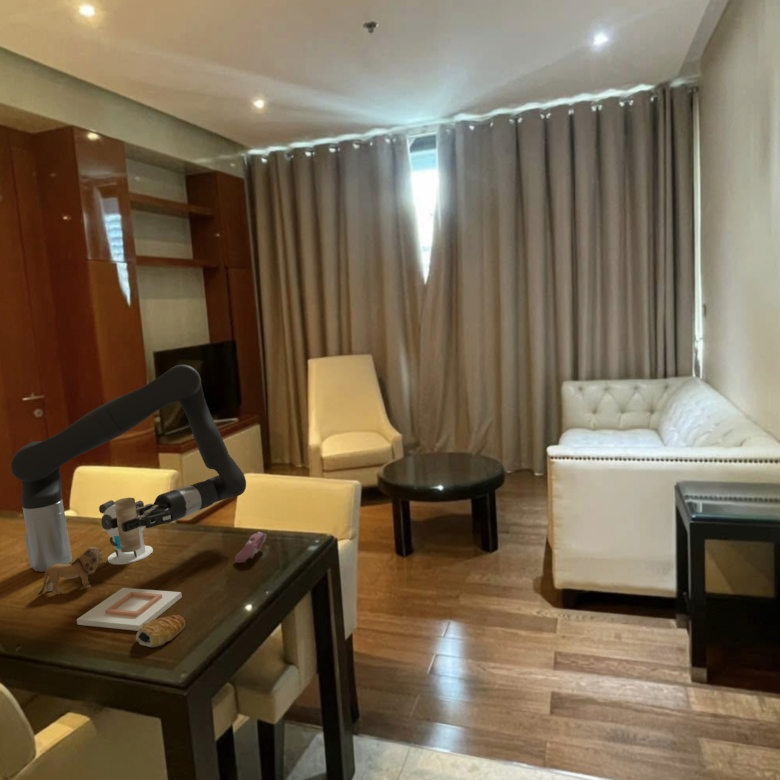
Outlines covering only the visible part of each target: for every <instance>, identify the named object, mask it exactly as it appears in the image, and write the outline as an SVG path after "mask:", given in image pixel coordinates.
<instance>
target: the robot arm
mask: <svg viewBox="0 0 780 780" xmlns="http://www.w3.org/2000/svg"><path fill="white" fill-rule="evenodd" d="M176 402H178V403H179V405H180V406H181V408H182V409H183V412H184V413H185V416H186V419H187V421H188V424H189V425H190V429H191V433H192V435H193V439H194V442H195V444H196V447H197V451H198V452H199V454H200V457H201V459H202V461H203V463H204V466H205V467H206V468H208V469H209V470H215V472H216V473H217V475H216V476H213V477H211V478H208V479H207V480H203V481H199V482H196V483H193V484H190V485H186V486H182V487H178V488H175V489H173V490H170V491H169V490H168V491H167V492H163V493H161V494H159V495H158V494H157V496H156V498H155V500H154V502H153V503H148V504H144V506H143V507H141V505H140V504H137V505H136V513H137V518H134V519H132V520H129V521H126V522H123V523H122V531H123V532H127V531H130V530H133V529H135V528H138V527H139V528H142V527H144V526H145V529H151V528H153V527H157V526H160V525H164V524H170V523H173V522H175V521H178V520H181V519H182V518H185V517H188V516H191V515H193V514H194V513H196V512H198V511H200V510H203V509H206V508H208V507H210V506H212V505H213V504H215V503H218V502H220V501H224V500H228V499H232V498H236V497H239V496H241V495H243V494H244V492H245V491H246V488H247V481H246V477H245V473H244V472H243V471H242V470H241V468H240V466H239V465H238V464H237V462H236V461H235V460H234V459H233V457H231V455H230V453H229V450H228V449H227V447H226V444H225V442H224V439H223V436H222V435H221V433H220V431H219V429H218V427H217V425H216V422H215V421H214V419H213V417H212V414H211V412H210V409H209V406H208V404H207V401H206V398H205V394H204V390H203V385H202V378H201V375H200V373H199V372H198V371H197V370H196V369H195V368H194V367H192V366H191V365H187V364H178V365H175V366H173V367H171V368H170V369H168V370H167V371H166V372H164V373H163V374H161V375H160V376H158V377H157V378H155V379H153V380H152V381H150V382H148V383H147V384H146V385H144V386H141V387H140V388H138V389H134V390H132V391H130V392H128V393H124V394H123V395H120V396H119V397H116V398H113V399H112V400H110V401H108V402H106V403H104V404H102V405H100V406H98V407H97V408H95V409H93V410H91V411H90V412H88V413H86V414H84V415H83V416H81V417H80V418H79V419H77V420H76V421H75V422H73V423H71V424H70V425H69V426H68V427H67V428H65V429H64V430H62V431H60V432H58V433H57V434H55V435H53V436H51V437H49V438H47V439H45V440H42V441H39V440H37V441H31V442H29V443H26V445H24V446H23V447H21V448H20V449H19V450H18V451H17V452H16V453H15V454H14V455H13V457H12V459H11V463H10V470H11V473H12V475H13V476H14V477H15V478H16V479H18V480H19V481H21V485H22V486H21V495H20V501H21V502H20V503H21V508H22V512H23V518H24V523H25V529H26V532H25V533H24V539H25V546H26V552H27V556H28V562H29V563H28V564H29V568H30V569H33V571H34V572H38V571H39V572H44V573H45V572H46V570H47V569H48V568H49V567H50V566H52V565H55V564H70V563H72V562H73V556H72V554H73V553H72V549H71V541H70V537H69V536H70V535H69V531H68V524H67V519H66V514H65V508H64V507H65V506H64V501H63V495H62V488H63V483H62V476H61V470H60V469H61V466H63V465H65V464H66V463H67V462H69V461H71V460H73V459H75V458H76V457H78V456H80V455H83V454H84V453H87V452H89V451H92V450H93V449H97V448H98V447H100V446H102V445H104V444H106V443H109V442H110V441H112V440H114V439H117V438H118V437H120V436H122V435H124V434H126V433H127V432H129V431H130V430H133V428H135V427H137V426H138V425H139V424H141V423H143V422H144V421H146V419H148V418H149V417H150V416H152V415H153V414H155V412H157V411H159V410H161V409H163V408H165V407H167V406H169V405H171V404H175V403H176ZM138 516H139V517H138ZM110 527H111V528H113V529H114V528H117V527H118V524H117V517H116V518H113V519H111V520H110ZM39 572H38V573H39Z"/></svg>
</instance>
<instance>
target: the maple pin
mask: <svg viewBox="0 0 780 780" xmlns="http://www.w3.org/2000/svg"><path fill="white" fill-rule="evenodd" d="M114 502H115V509H116V517H117V524H118V531H119V539H120V546H121V551H122V552H133V551H136V550H138V549H140V548H141V544H140V536H139V528H135V529H133V530H130V531H127V532H123V531H122V523H123V522H126V521H129V520H132V519H134V518H137V513H136V505H135V503H136V499H135V497H123V498H120V499H117V500H115V501H114Z"/></svg>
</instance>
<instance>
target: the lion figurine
mask: <svg viewBox="0 0 780 780" xmlns="http://www.w3.org/2000/svg"><path fill="white" fill-rule="evenodd" d="M102 561H103V554H102V552H101V548H100V547H99V548H98V547H95V546H92V547H91V546H90V547H89V548H87V549H86V550H85V551H84V552H83V554H81V555H80V556H78V557H77V558H76V559H75V560H74V561H72V562H70V563H69V564H55V565H52V566H50V567H49V568H48V569H47V570H46V571H44V576H43V577H44V578H43V582H42V583H43V584H42V589H41V590H40V591H39V592H38V593H37V596H40V595H42V594H43V593H44V591H45V590H46V591H47V592H53V591H54V592H55V594H56V595H62V594H63V593H64V592H63V590H59V588H58V584H59V580H60V577H61V578H64V579H69V580H71V579H72V580H73V579H77V578H78V577H80V579H81V583H82V584H83V587H84V588H85V589H90V588H92V586H91V584H90V580H89V578H88V576H89V575H92V574H94V573H95V572H96V570H97V568H98V567H99V566H100V565H101V564H102ZM51 585H52V587H51Z"/></svg>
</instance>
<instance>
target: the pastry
mask: <svg viewBox="0 0 780 780" xmlns="http://www.w3.org/2000/svg"><path fill="white" fill-rule="evenodd" d="M185 626H186V621H185V618H184V617H182V616H181V615H179V614H173V615H172V614H171V615H168V616H162V617H159V618H158V617H157V618H156V619H153V620H151V621H150V622H149V623H145V624H144V625H143V626H142V628H139V630H138V631H137V632H136V635H135V640H136V642H137V643H138V644H139V645H141V646H146V647H148V648H158V647H161V646H163V645H165V643H167V642H170V641H172V640H173V639H174V638H175V637H177V636H178V635H179V634H180V633H181V632H183V630H184V629H185Z"/></svg>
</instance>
